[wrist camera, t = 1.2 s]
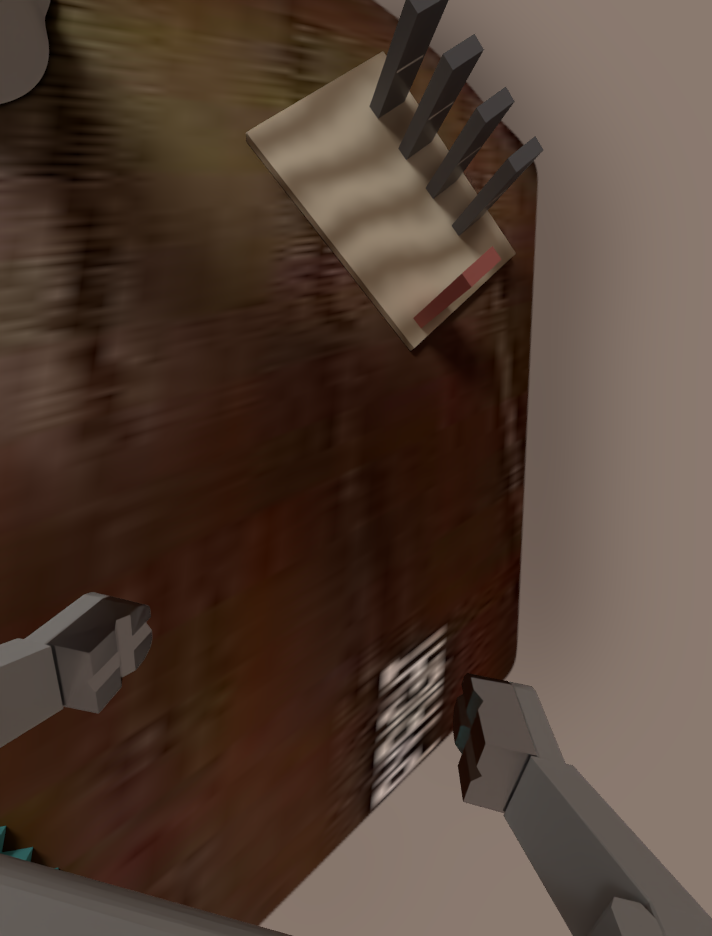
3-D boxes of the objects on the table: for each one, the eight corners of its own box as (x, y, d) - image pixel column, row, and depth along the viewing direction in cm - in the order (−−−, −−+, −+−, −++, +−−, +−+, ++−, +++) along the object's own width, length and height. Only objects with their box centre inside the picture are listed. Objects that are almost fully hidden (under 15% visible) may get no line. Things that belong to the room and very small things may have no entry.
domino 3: (425, 188, 43) (476, 107, 34) (449, 169, 45) (505, 86, 35) (433, 199, 44) (485, 123, 34) (457, 180, 45) (514, 101, 35)
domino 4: (451, 225, 44) (507, 158, 35) (474, 206, 46) (535, 136, 36) (458, 236, 45) (516, 172, 35) (481, 216, 46) (543, 149, 36)
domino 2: (398, 148, 42) (442, 53, 33) (423, 130, 43) (474, 33, 34) (406, 160, 43) (453, 70, 33) (431, 141, 44) (483, 49, 34)
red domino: (413, 318, 42) (461, 273, 33) (438, 295, 44) (492, 245, 34) (421, 328, 43) (471, 287, 33) (446, 305, 44) (501, 259, 35)
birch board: (246, 141, 38) (246, 132, 37) (380, 60, 43) (383, 51, 42) (410, 350, 43) (414, 348, 42) (510, 257, 49) (515, 253, 48)
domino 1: (369, 106, 41) (407, -4, 32) (396, 88, 42) (441, -23, 33) (378, 119, 41) (417, 13, 32) (404, 101, 43) (451, -6, 33)
